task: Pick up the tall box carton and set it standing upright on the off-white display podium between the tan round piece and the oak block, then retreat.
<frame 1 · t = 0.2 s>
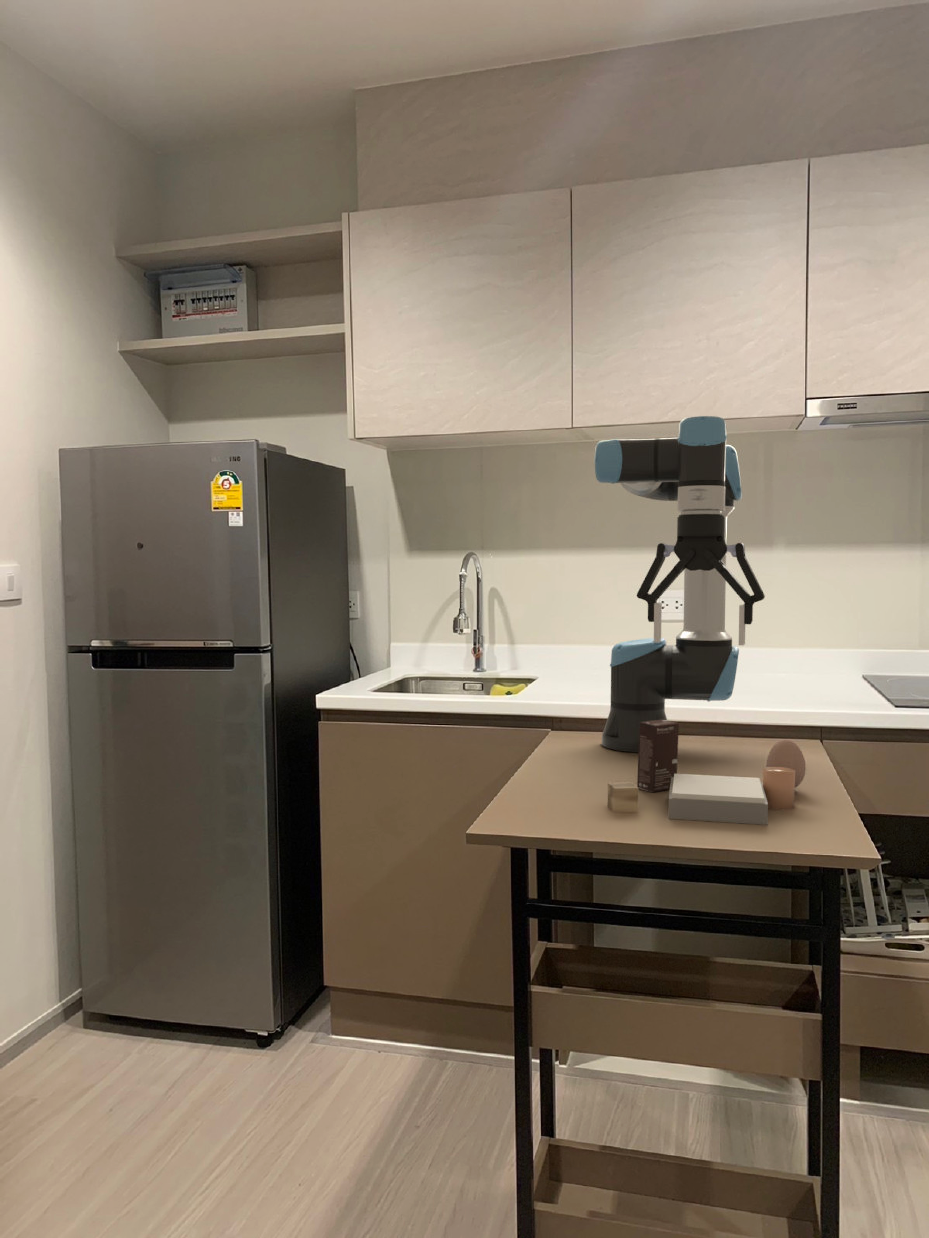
hand: (698, 643, 158), 27 cm above the table, fingers open, 13 cm apart
egg: (785, 791, 171), on the table
tan round piece: (778, 805, 160), on the table
oak block: (622, 809, 159), on the table
podium: (716, 809, 158), on the table
box: (657, 789, 172), on the table
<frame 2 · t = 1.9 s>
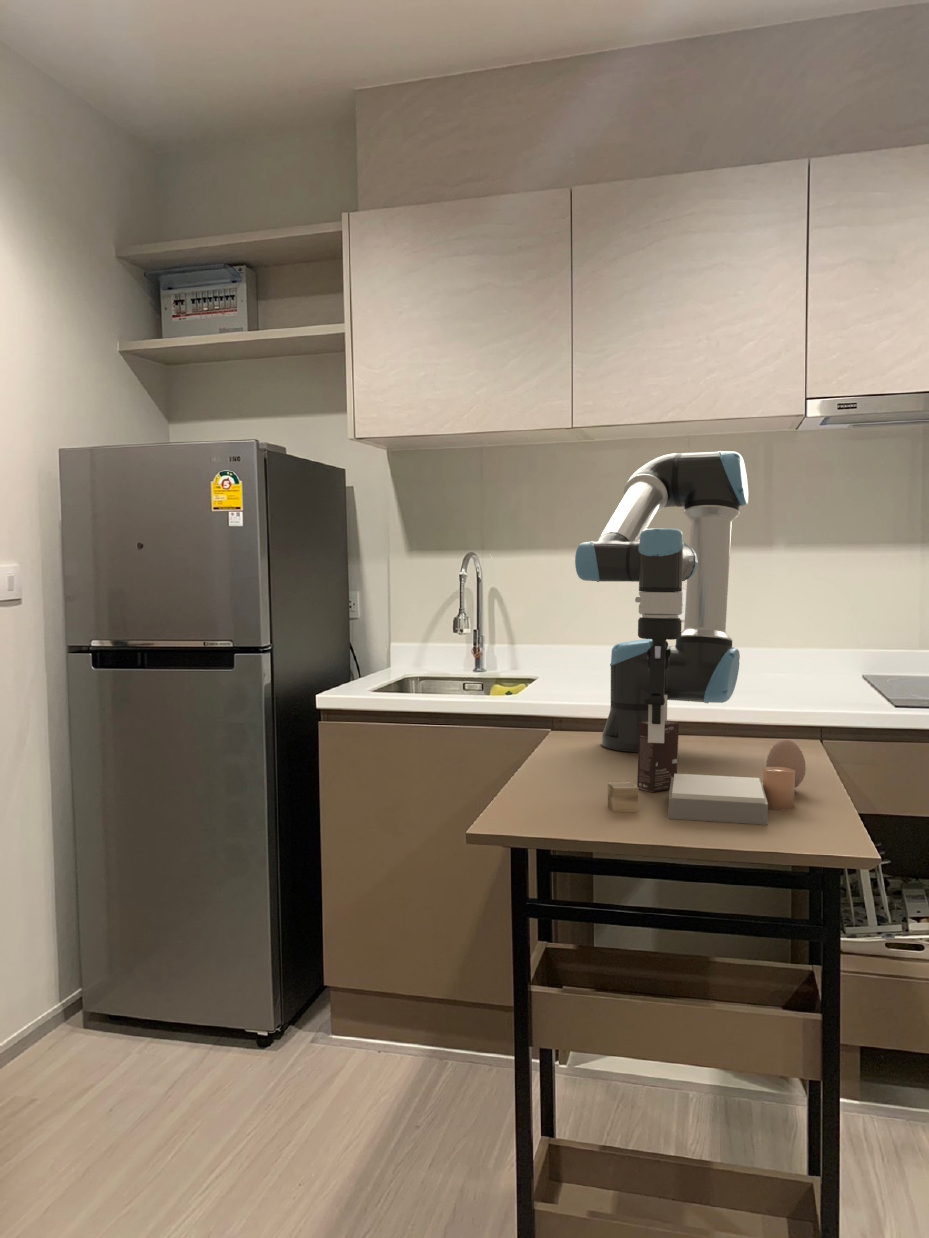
hand: (657, 736, 171), 10 cm above the table, fingers open, 13 cm apart
nothing on the table moved.
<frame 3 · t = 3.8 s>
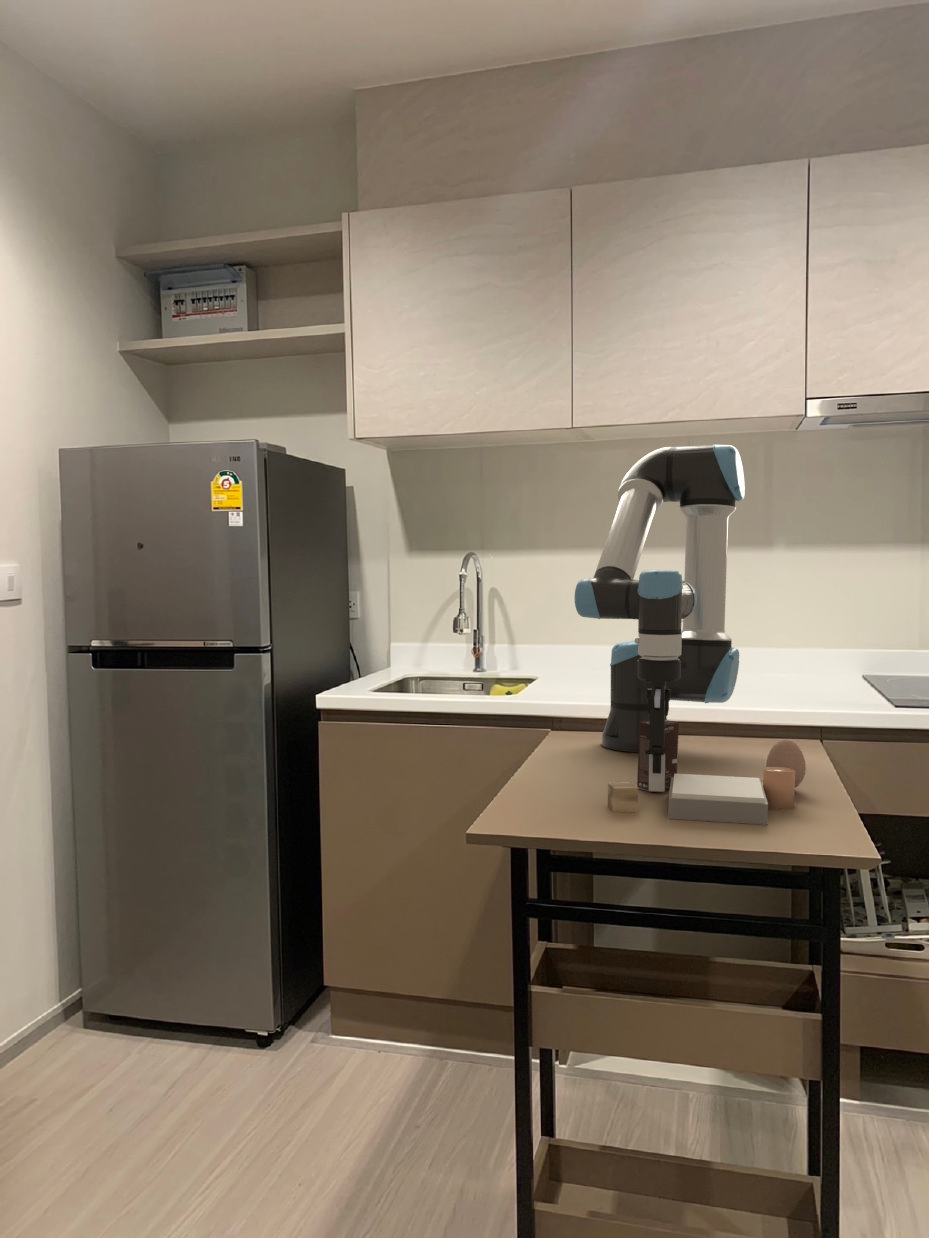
hand: (657, 785, 172), 1 cm above the table, fingers closed on box, 7 cm apart
box: (657, 789, 172), on the table, touching gripper
everything else where it was.
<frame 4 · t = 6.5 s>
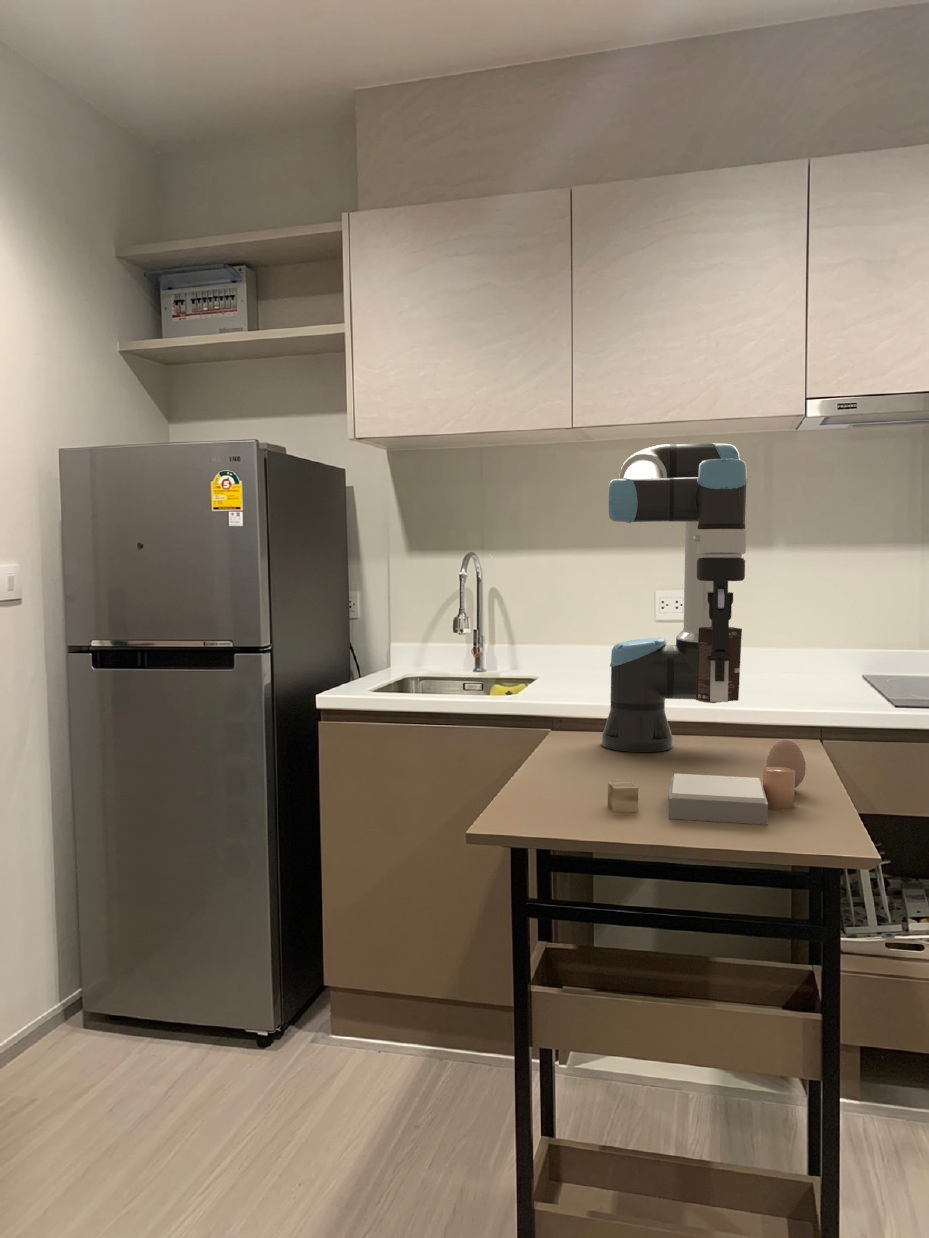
hand: (718, 697, 157), 18 cm above the table, fingers closed on box, 7 cm apart
box: (718, 702, 157), point 18 cm above the table, touching gripper
everything else where it was.
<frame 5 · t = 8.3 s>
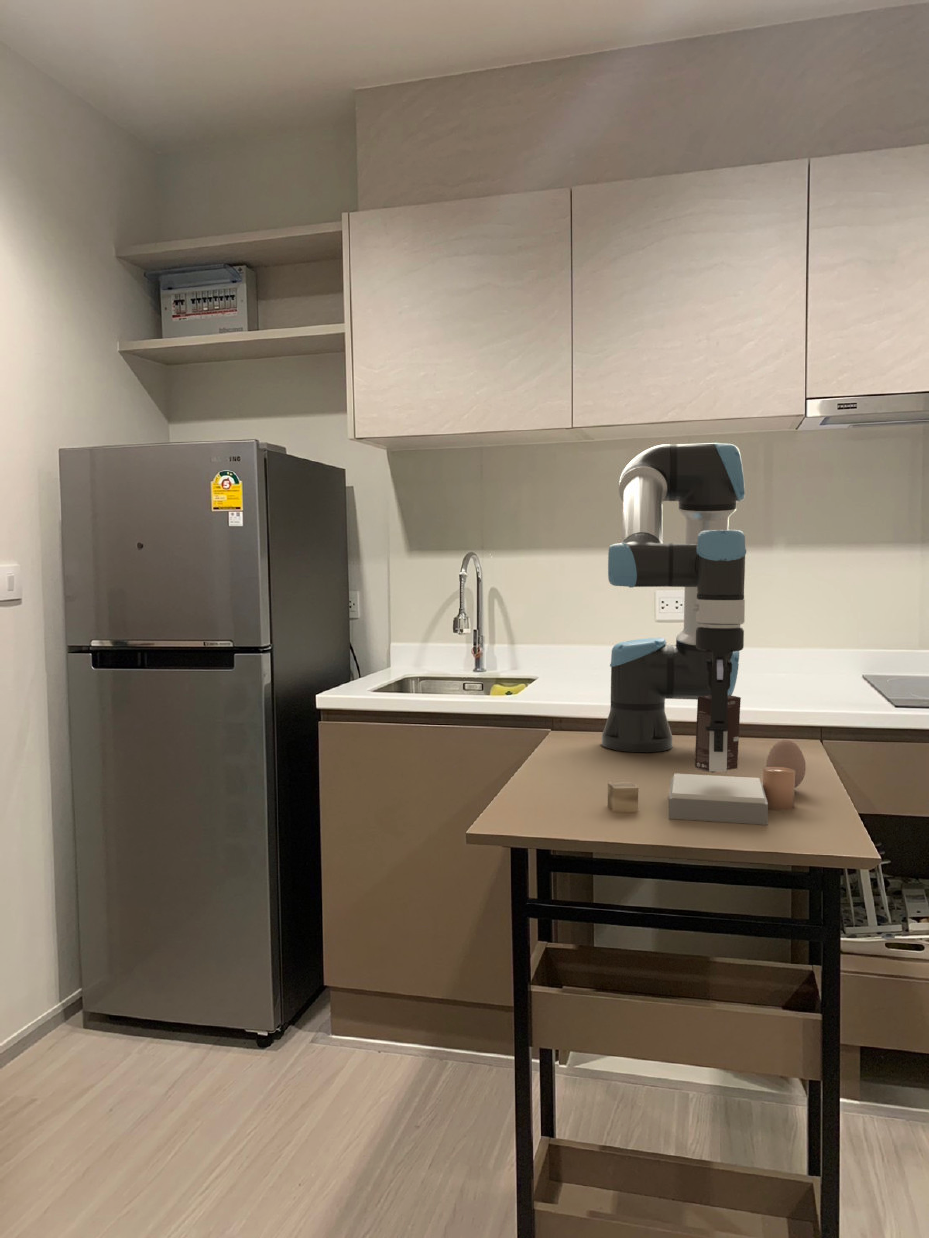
hand: (717, 765, 157), 7 cm above the table, fingers closed on box, 7 cm apart
box: (717, 770, 157), point 6 cm above the table, touching gripper
everything else where it was.
when the fingers open (6 cm above the table, at t = 9.4 s): box drops 1 cm, resting on podium.
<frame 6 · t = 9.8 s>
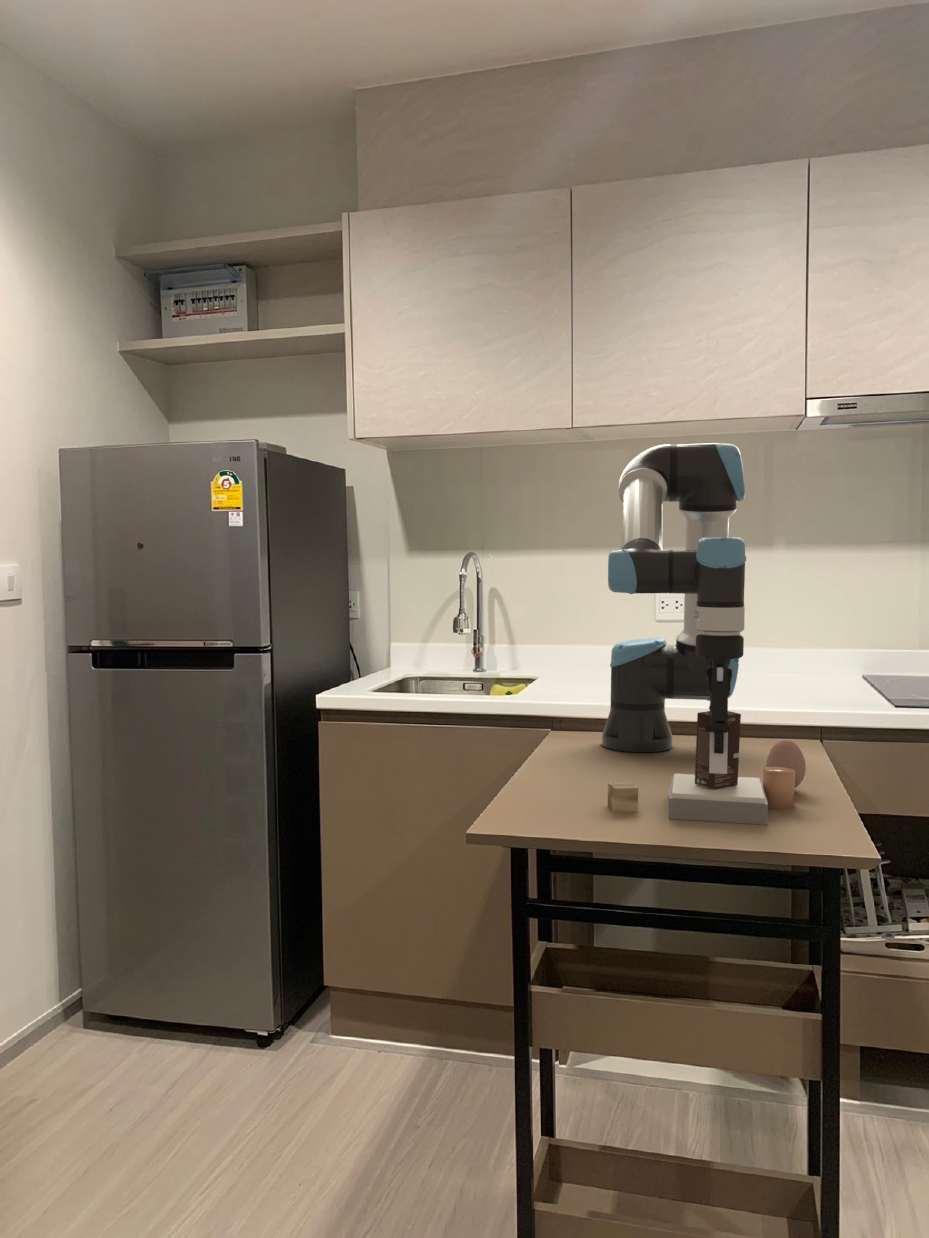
hand: (717, 764, 157), 7 cm above the table, fingers open, 12 cm apart
box: (717, 786, 157), point 4 cm above the table, touching podium
everything else where it was.
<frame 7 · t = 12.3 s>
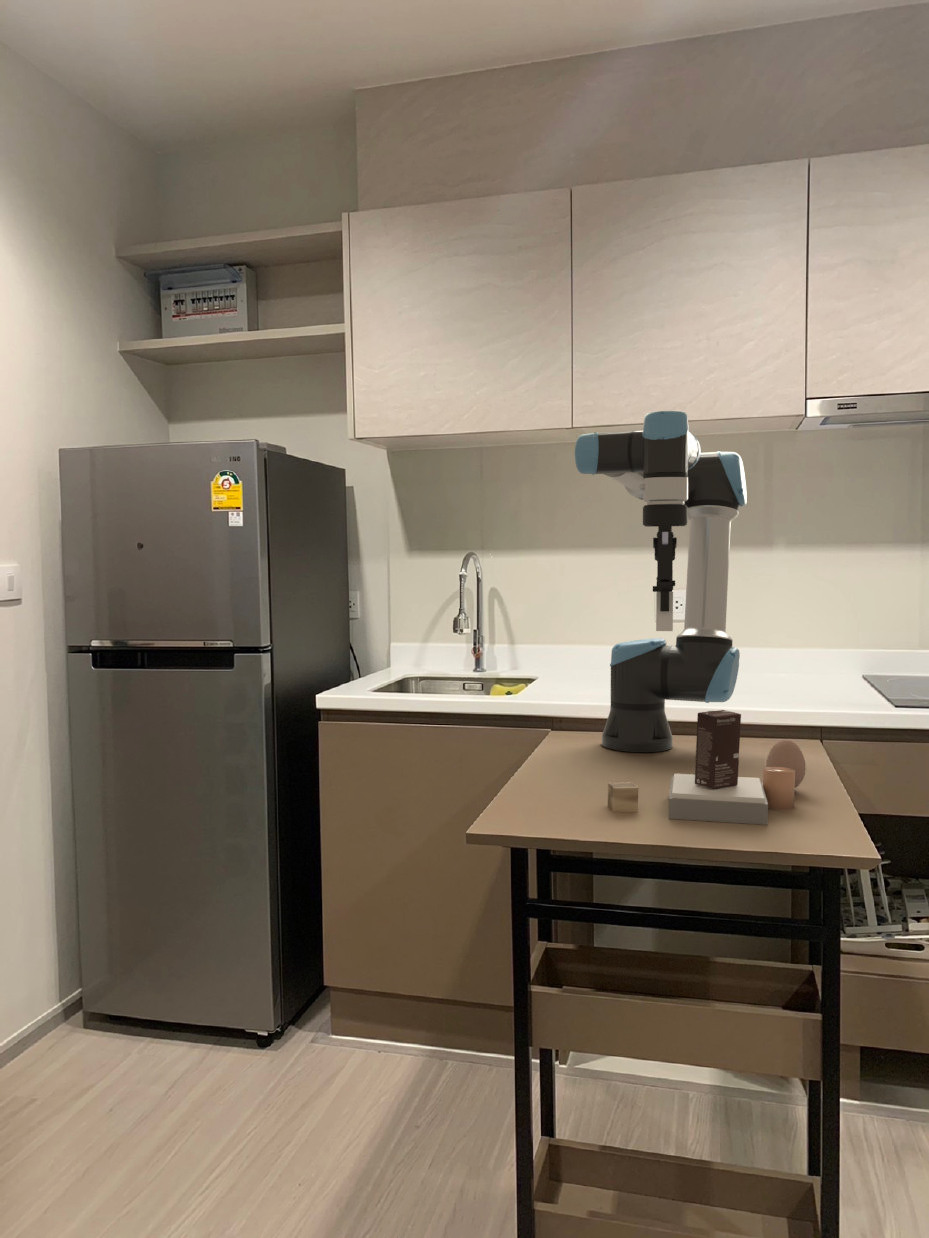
hand: (664, 627, 167), 29 cm above the table, fingers open, 13 cm apart
nothing on the table moved.
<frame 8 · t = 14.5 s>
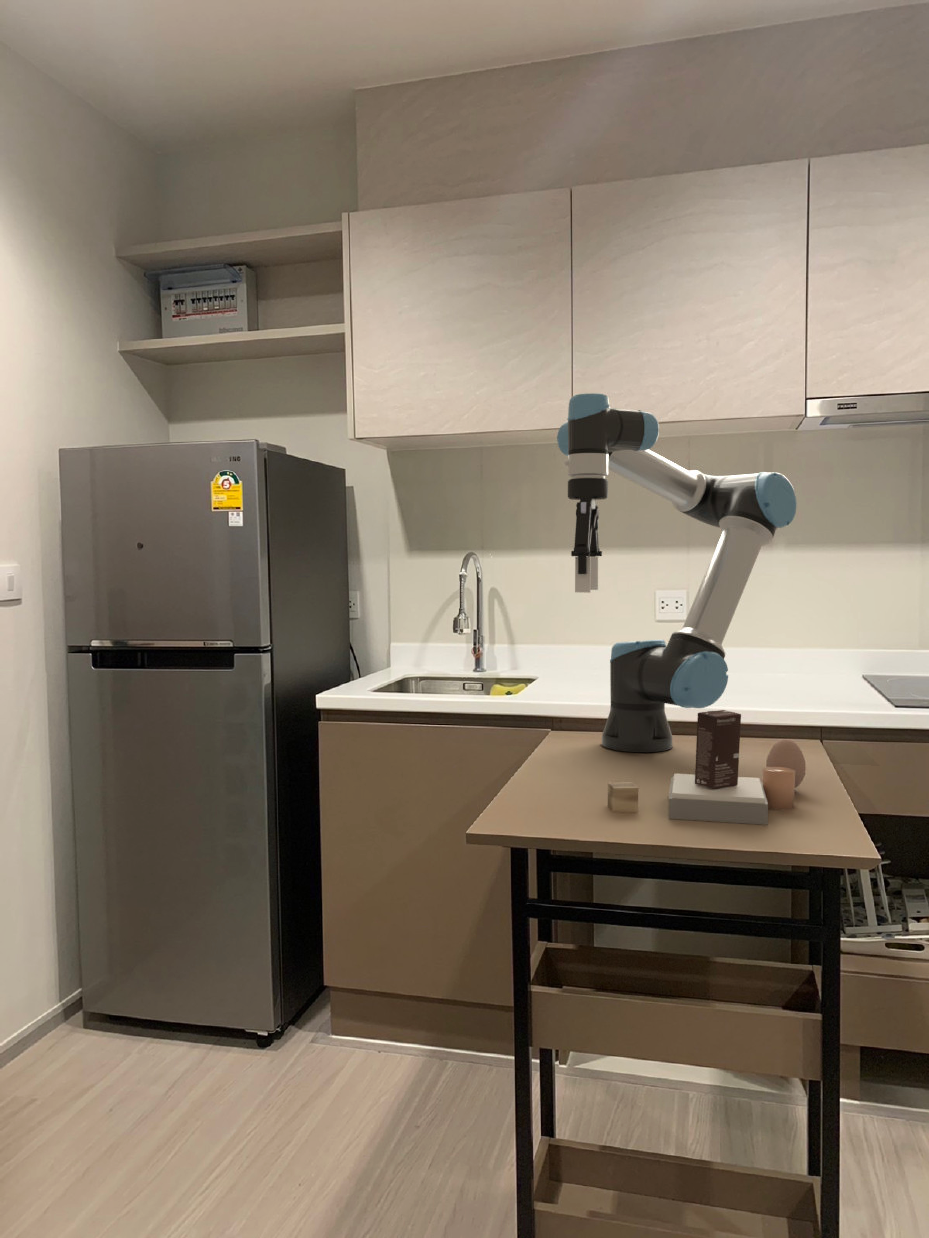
hand: (586, 591, 183), 35 cm above the table, fingers open, 13 cm apart
nothing on the table moved.
at the end: box inside the target area on the podium (0.3 cm from its centre), point 3.8 cm above the podium's base; box tilted 0°; the gripper is holding nothing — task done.
